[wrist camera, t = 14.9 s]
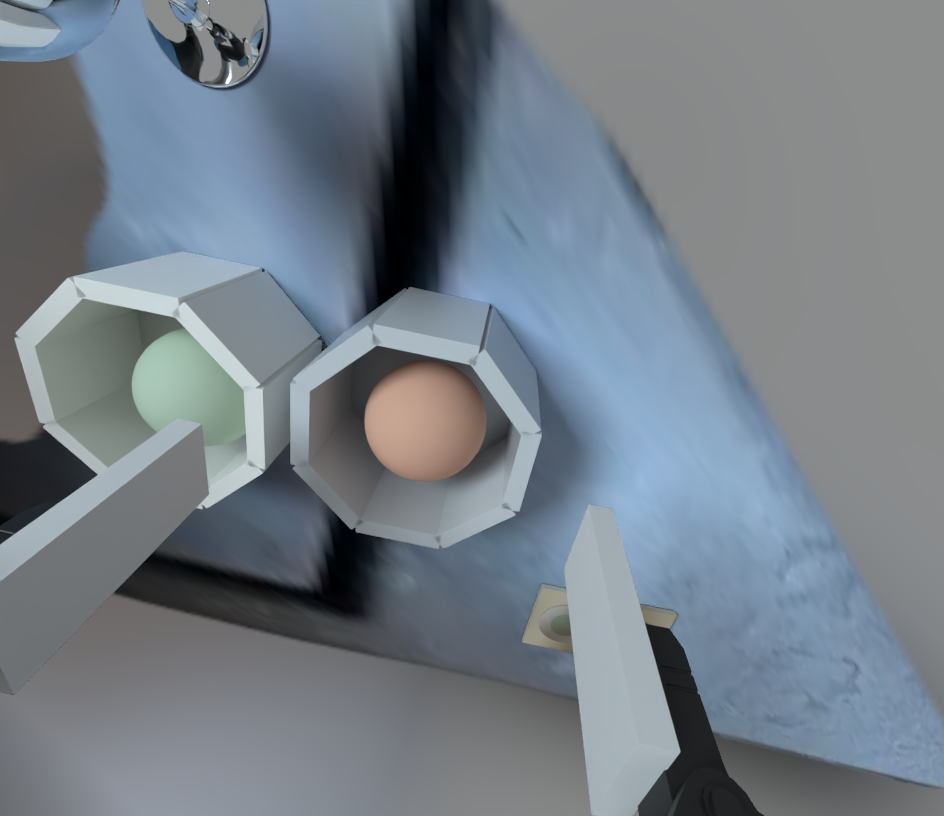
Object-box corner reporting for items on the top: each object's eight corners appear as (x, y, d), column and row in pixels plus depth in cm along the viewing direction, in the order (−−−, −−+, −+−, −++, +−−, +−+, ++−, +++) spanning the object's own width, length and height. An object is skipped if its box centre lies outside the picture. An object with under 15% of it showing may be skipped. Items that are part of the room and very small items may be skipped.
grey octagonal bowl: (337, 447, 24) (290, 518, 19) (347, 273, 20) (290, 306, 15) (507, 483, 24) (503, 562, 19) (552, 316, 20) (563, 363, 15)
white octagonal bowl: (150, 416, 24) (55, 478, 19) (120, 238, 20) (-10, 259, 15) (318, 452, 24) (267, 522, 19) (323, 280, 20) (260, 315, 15)
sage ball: (163, 407, 22) (121, 470, 18) (149, 304, 19) (96, 348, 15) (277, 411, 23) (263, 471, 19) (276, 317, 21) (260, 360, 17)
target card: (521, 638, 29) (521, 645, 29) (541, 583, 27) (542, 590, 26) (645, 663, 29) (647, 671, 29) (675, 611, 27) (678, 618, 26)
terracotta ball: (372, 431, 22) (347, 497, 18) (382, 333, 20) (356, 381, 15) (474, 447, 23) (474, 515, 18) (495, 353, 20) (501, 405, 16)
